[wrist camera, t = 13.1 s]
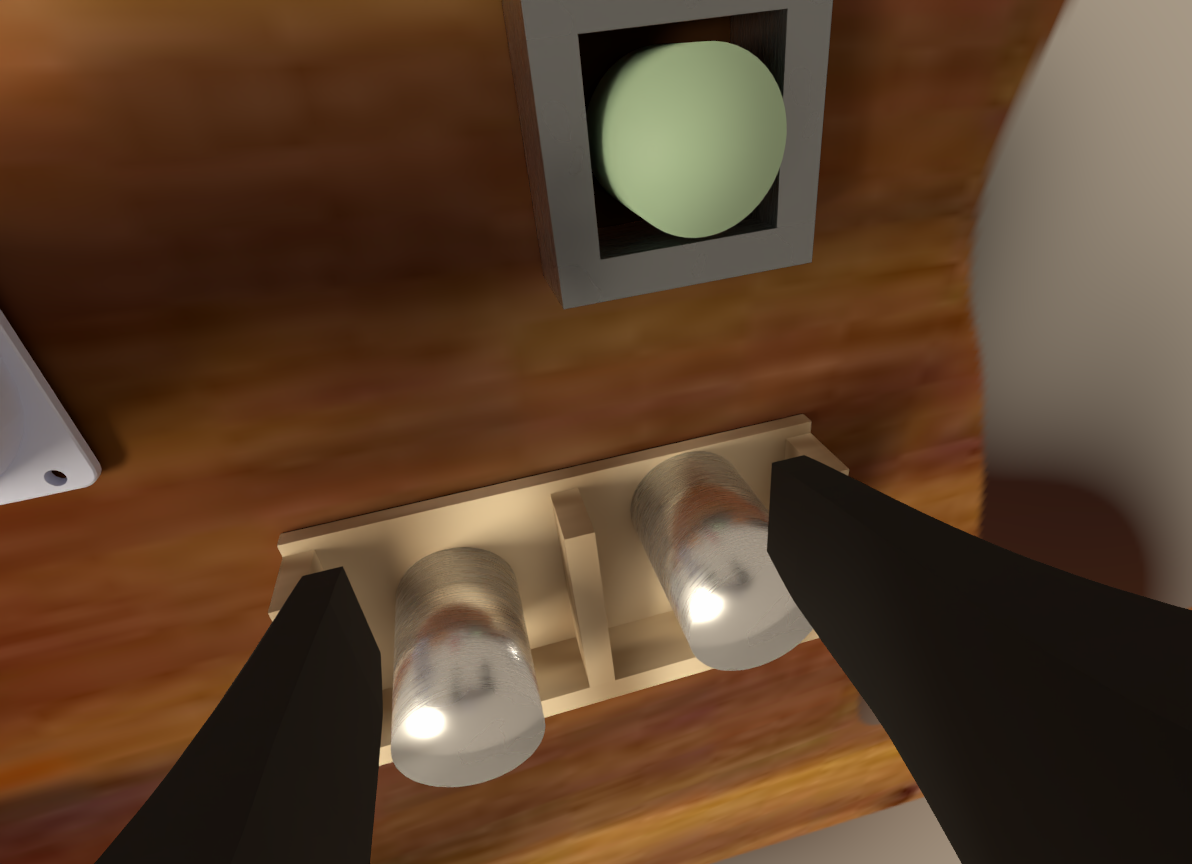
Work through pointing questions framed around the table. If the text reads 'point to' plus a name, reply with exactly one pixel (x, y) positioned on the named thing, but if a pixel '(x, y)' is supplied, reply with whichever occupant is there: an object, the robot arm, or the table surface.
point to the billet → (716, 561)
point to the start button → (687, 135)
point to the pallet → (548, 563)
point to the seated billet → (462, 671)
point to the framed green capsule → (562, 157)
